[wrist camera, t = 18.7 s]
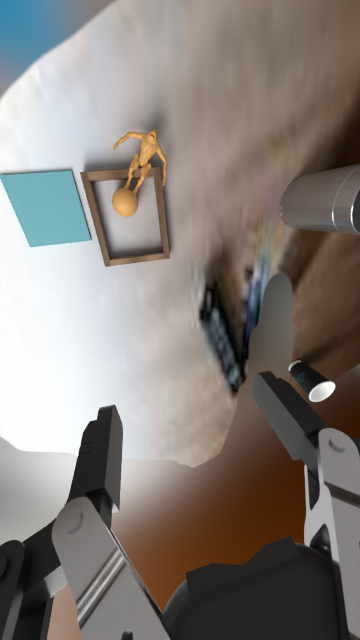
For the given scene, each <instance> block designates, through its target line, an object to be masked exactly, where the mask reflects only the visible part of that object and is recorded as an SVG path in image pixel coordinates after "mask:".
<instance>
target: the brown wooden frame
mask: <svg viewBox="0 0 360 640" xmlns="http://www.w3.org/2000/svg"><path fill="white" fill-rule="evenodd" d="M128 173H129V169H122V170H107V171H92V172H80V174H81V178H82V182H83V185H84V189H85V193H86V197H87V200H88V204H89V208H90V211H91V215H92V219H93V223H94V226H95V230H96V234H97V237H98V241H99V245H100V249H101V252H102V256H103V260H104V263H105V267H107V266H114V265H122V264H130V263H137V262H145V261H153V260H160V259H168V258H170V255H169V245H168V236H167V227H166V217H165V208H164V198H163V189H162V179H161V170H160V167H152V168H150V170H149V171H148V174H147V176H146V178H148V177H154V184H155V192H156V201H157V209H158V217H159V225H160V233H161V242H162V250H163V252H156V253H148V254H140V255H132V256H124V257H116V258H110V254H109V250H108V246H107V242H106V238H105V234H104V230H103V226H102V222H101V218H100V214H99V210H98V206H97V202H96V198H95V194H94V190H93V186H92V182H94V181H108V180H121V179H129V176H128ZM132 174H133V177H132V178H131V179H135V178H141V168H137V169H136V170H134V171H133V172H132Z"/></svg>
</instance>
